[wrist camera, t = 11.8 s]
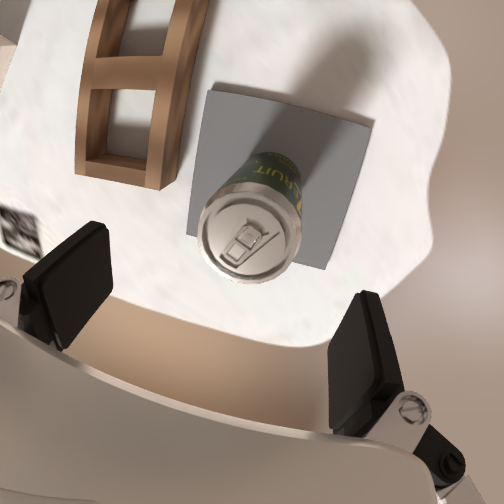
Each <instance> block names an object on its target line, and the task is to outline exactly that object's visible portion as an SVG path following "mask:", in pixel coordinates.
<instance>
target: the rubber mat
mask: <svg viewBox="0 0 504 504" xmlns="http://www.w3.org/2000/svg"><path fill="white" fill-rule="evenodd" d="M370 133H371V128H368V127H365V126H362V125H359V124H356V123H353V122H350V121H347V120H344V119H341V118H338V117H334V116H331V115H328V114H324V113H321V112H317V111H313V110H310V109H306V108H302V107H298V106H294V105H290V104H285V103H281V102H276V101H272V100H267V99H262V98H257V97H252V96H246V95H240V94H234V93H228V92H221V91H214V90H208V91H207V96H206V101H205V106H204V112H203V117H202V123H201V129H200V135H199V141H198V147H197V154H196V161H195V167H194V174H193V182H192V189H191V197H190V205H189V213H188V222H187V231H186V234H187V235H191V236H194V237H197V234H198V224H199V222H200V215H201V213H202V211H203V209H204V207H205V204H206V202H207V201H208V200H209V199H210V198H211V197H212V196H213V195H214V194H215V193H216V191H217V190H218V189H219V188H220V187H221V186H222V185H223V184H224V183H225V182H226V181H227V180H228V179H229V178H230V177H231V176H232V175H233V174H234V173H235V172H236V171H237V170H238V169H239V168H240V167H241V166H242V165H243V164H244V163H245V162H246V161H247V160H248V159H249V158H250V157H252V156H254V155H257V154H259V153H263V152H274V153H279V154H282V155H284V156H285V157H287V158H289V159H290V160H291V161H292V162H293V163H294V164H295V165H296V166H297V168H298V171H299V173H300V175H301V182H302V239H301V243H300V247H299V250H298V252H297V254H296V255H295V257H294V259H293V261H292V262H295V263H299V264H303V265H307V266H311V267H315V268H318V269H322V270H325V268H326V266H327V263H328V260H329V258H330V255H331V252H332V250H333V247H334V244H335V242H336V239H337V236H338V233H339V231H340V228H341V225H342V222H343V219H344V216H345V213H346V210H347V208H348V205H349V202H350V199H351V196H352V193H353V189H354V186H355V183H356V180H357V177H358V174H359V170H360V167H361V164H362V161H363V157H364V154H365V151H366V147H367V144H368V140H369V137H370Z"/></svg>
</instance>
